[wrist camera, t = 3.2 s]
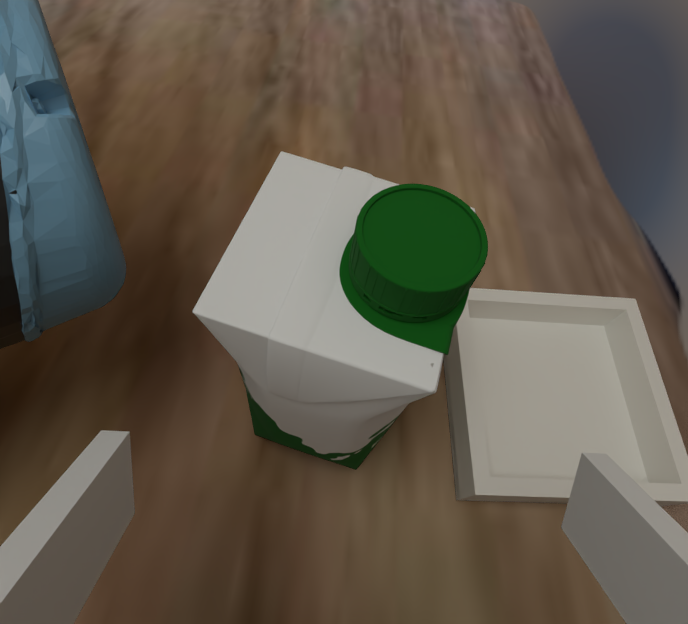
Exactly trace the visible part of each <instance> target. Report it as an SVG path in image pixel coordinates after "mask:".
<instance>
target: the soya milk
mask: <svg viewBox="0 0 688 624" xmlns="http://www.w3.org/2000/svg"><path fill="white" fill-rule="evenodd" d="M487 252H488V241H487V235H486V232H485V229H484V227H483V224H482V223H481V221H480V219H479V218H478V216H477V215H476V212H475V209H474V208H471V207H469V206H468V205H467V204H466V203H465V202H463V201H462V200H461V199H459V198H458V197H456V196H455V195H453V194H451V193H449V192H447V191H445V190H442V189H439V188H436V187H433V186H428V185H422V184H402V185H399V184H396V183H393V182H390V181H386V180H383V179H380V178H377V177H374V176H373V175H371V174H369V173H366V172H363V171H360V170H357V169H353V168H350V167H344V168H343V169H338V168H335V167H332V166H328V165H325V164H322V163H319V162H315V161H312V160H309V159H306V158H302V157H299V156H296V155H292V154H289V153H286V152H280V154H279V156H278V158H277V159H276V161H275V163H274V165H273V167H272V168H271V170H270V172H269V174H268V176H267V177H266V179H265V181H264V183H263V185H262V186H261V188H260V190H259V192H258V194H257V195H256V197H255V199H254V201H253V203H252V204H251V206H250V208H249V210H248V212H247V213H246V215H245V217H244V219H243V221H242V222H241V224H240V226H239V228H238V230H237V231H236V233H235V235H234V237H233V239H232V240H231V242H230V244H229V246H228V248H227V249H226V251H225V253H224V255H223V257H222V258H221V260H220V262H219V264H218V266H217V267H216V269H215V271H214V273H213V275H212V276H211V278H210V280H209V282H208V284H207V285H206V287H205V289H204V291H203V293H202V294H201V296H200V298H199V300H198V302H197V304H196V305H195V307H194V309H193V311H192V312H193V313H194V314H195V315H196V316H197V317H198V319H199V320H200V321H201V322H202V323H203V324H204V325H205V326H206V328H207V329H208V330H209V331H210V332H211V333H212V334H213V335H214V337H215V338H216V339H217V340H218V341H219V342H220V343H221V345H222V346H223V347H224V348H225V349H226V350H227V351H228V353H229V354H230V355H231V356H232V357H233V358H234V359H235V360H236V362H237V363H238V366H239V369H240V372H241V375H242V378H243V382H244V385H245V388H246V392H247V397H248V402H249V407H250V412H251V417H252V422H253V428H254V433H255V435H257V436H260V437H263V438H266V439H268V440H271V441H274V442H276V443H279V444H282V445H284V446H287V447H290V448H293V449H296V450H299V451H302V452H305V453H307V454H310V455H313V456H316V457H319V458H322V459H325V460H328V461H331V462H335V463H338V464H341V465H344V466H347V467H350V468H352V469H355V470H356V469H357V468H358V467H359V465H360V464H361V463H362V462H363V460H364V459H365V458H366V457H367V455H368V454H369V453H370V452H371V450H372V449H373V448H374V447H375V446H376V444H377V443H378V442H379V441H380V439H381V438H382V437H383V436H384V434H385V433H386V432H387V430H388V429H389V428H390V427H391V425H392V424H393V423H394V422H395V420H396V419H397V418H398V416H399V415H400V414H401V413H402V411H403V410H404V409H405V408H406V406H407V405H408V404H409V403H411V402H413V401H416V400H419V399H421V398H424V397H426V396H429V395H431V394H434V393H436V391H437V387H438V383H439V378H440V373H441V367H442V362H443V357H444V354H445V355H448V353H449V348H450V344H451V339H452V334H453V329H454V327H455V325H456V324H457V322H458V320H459V318H460V316H461V314H462V312H463V310H464V307H465V304H466V301H467V298H468V294H469V290H470V287H471V285H472V284H473V282H474V281H475V279H476V278H477V276H478V275H479V273H480V272H481V269H482V267H483V266H484V264H485V260H486V257H487Z"/></svg>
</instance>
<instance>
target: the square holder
mask: <svg viewBox="0 0 688 624" xmlns="http://www.w3.org/2000/svg"><path fill="white" fill-rule="evenodd" d="M443 361H444V372H445V383H446V394H447V405H448V416H449V427H450V438H451V448H452V459H453V470H454V481H455V492H456V500H465V501H498V502H531V503H564V504H568V501H569V497H570V494H571V490H572V486H573V483H574V479H575V476H576V472H577V468H578V465H579V461H580V458H581V454H582V453H602V454H607V455H608V456H609V457H610V458H611V459H612V460H613V461H614V462H615V463H616V464H617V465H618V466H619V467H620V468H622V469H623V470H624V471H625V472H626V473H627V474H628V475H629V476H630V477H631V478H632V479H633V480H634V481H635V482H636V483H637V484H638V485H639V486H640V487H641V488H642V489H643V490H644V491H645V492H646V493H647V494H648V495H649V496H650V497H651V498H652V499H653V500H654V501H655V502H656V503H657V504H658V505H659V506H669V505H679V504H688V456H687V453H686V450H685V447H684V444H683V441H682V438H681V435H680V432H679V429H678V426H677V423H676V420H675V417H674V414H673V411H672V408H671V405H670V402H669V399H668V396H667V393H666V390H665V387H664V384H663V381H662V377H661V374H660V371H659V368H658V365H657V362H656V359H655V356H654V353H653V350H652V347H651V344H650V341H649V338H648V335H647V332H646V329H645V326H644V323H643V320H642V317H641V314H640V311H639V308H638V305H637V302H636V299H630V298H615V297H600V296H585V295H570V294H555V293H540V292H524V291H509V290H494V289H479V288H470V290H469V294H468V298H467V301H466V304H465V307H464V310H463V312H462V314H461V316H460V318H459V320H458V322H457V324H456V325H455V327H454V329H453V334H452V339H451V344H450V348H449V353H448V355H445V354H444V357H443Z"/></svg>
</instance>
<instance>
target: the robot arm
mask: <svg viewBox="0 0 688 624" xmlns="http://www.w3.org/2000/svg"><path fill="white" fill-rule="evenodd" d="M125 275H126V263H125V258H124V255H123V251H122V248H121V245H120V242H119V238H118V235H117V232H116V229H115V226H114V223H113V220H112V217H111V214H110V211H109V208H108V205H107V202H106V199H105V196H104V192H103V189H102V186H101V183H100V180H99V177H98V174H97V171H96V168H95V165H94V162H93V160H92V157H91V154H90V151H89V148H88V145H87V142H86V139H85V136H84V133H83V130H82V127H81V124H80V121H79V118H78V115H77V112H76V109H75V106H74V103H73V100H72V97H71V94H70V91H69V88H68V85H67V82H66V79H65V76H64V73H63V70H62V67H61V64H60V62H59V59H58V56H57V53H56V50H55V48H54V45H53V42H52V39H51V36H50V34H49V31H48V28H47V25H46V22H45V19H44V16H43V13H42V10H41V7H40V4H39V1H38V0H0V349H1V348H4V347H7V346H9V345H12V344H15V343H18V342H21V341H24V340H25V341H27V342H30V341H33V340H35V339H36V338H39V337H40V336H41V335H42V332H43V331H44V330H46V329H49V328H51V327H54V326H56V325H59V324H61V323H64V322H66V321H69V320H71V319H74V318H76V317H78V316H81V315H83V314H86V313H88V312H91V311H93V310H96V309H98V308H101V307H102V306H104V305H105V304H107V303H108V302H110V301H111V300H112V299H113V298H114V297H115V296H116V295H117V293H118V292H119V290H120V288H121V287H122V285H123V284H124V280H125ZM134 514H135V508H134V492H133V476H132V460H131V445H130V432H126V431H105V430H101V431H100V432H99V433H98V435H97V436H96V437H95V438H94V439H93V440H92V441H91V443H90V444H89V445H88V446H87V447H86V448H85V450H84V451H83V452H82V453H81V454H80V455H79V456H78V458H77V459H76V460H75V461H74V462H73V463H72V465H71V466H70V467H69V468H68V469H67V470H66V471H65V473H64V474H63V475H62V476H61V477H60V478H59V480H58V481H57V482H56V483H55V484H54V485H53V486H52V488H51V489H50V490H49V491H48V492H47V493H46V494H45V496H44V497H43V498H42V499H41V500H40V501H39V503H38V504H37V505H36V506H35V507H34V508H33V509H32V511H31V512H30V513H29V514H28V515H27V516H26V518H25V519H24V520H23V521H22V522H21V523H20V524H19V526H18V527H17V528H16V529H15V530H14V531H13V533H12V534H11V535H10V536H9V537H8V538H7V539H6V541H5V542H4V543H3V544H2V545H1V546H0V624H74V622H75V620H76V618H77V617H78V615H79V613H80V611H81V609H82V608H83V606H84V604H85V602H86V600H87V599H88V597H89V595H90V593H91V591H92V590H93V588H94V586H95V584H96V582H97V581H98V579H99V577H100V575H101V573H102V572H103V570H104V568H105V566H106V564H107V563H108V561H109V559H110V557H111V555H112V554H113V552H114V550H115V548H116V546H117V545H118V543H119V541H120V539H121V537H122V536H123V534H124V532H125V530H126V528H127V527H128V525H129V523H130V521H131V519H132V517H133V516H134ZM561 528H562V530H563V531H564V533H565V534H566V536H567V537H568V539H569V540H570V541H571V543H572V544H573V546H574V547H575V549H576V550H577V552H578V553H579V555H580V556H581V558H582V559H583V561H584V562H585V564H586V565H587V566H588V568H589V569H590V571H591V572H592V574H593V575H594V577H595V578H596V580H597V581H598V583H599V584H600V586H601V587H602V588H603V590H604V591H605V593H606V594H607V596H608V597H609V599H610V600H611V602H612V603H613V605H614V606H615V608H616V609H617V611H618V612H619V613H620V615H621V616H622V618H623V619H624V621H625V622H626V624H688V533H687V532H686V531H685V530H684V529H683V528H682V527H681V526H680V525H679V524H678V523H677V522H676V521H675V520H674V519H673V518H672V517H671V516H670V515H669V514H668V513H667V512H666V511H665V510H664V509H663V508H662V507H660V506H659V505H658V504H657V503H656V502H655V501H654V500H653V499H652V498H651V497H650V496H649V495H648V494H647V493H646V492H645V491H644V490H643V489H642V488H641V487H640V486H639V485H638V484H637V483H636V482H635V481H634V480H633V479H632V478H631V477H630V476H629V475H628V474H627V473H626V472H625V471H624V470H623V469H622V468H620V467H619V466H618V465H617V464H616V463H615V462H614V461H613V460H612V459H611V458H610V457H609V456H608V455H607V454H602V453H582V454H581V458H580V461H579V465H578V468H577V472H576V476H575V479H574V483H573V486H572V490H571V494H570V497H569V501H568V504H567V508H566V512H565V515H564V519H563V522H562V526H561Z"/></svg>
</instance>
